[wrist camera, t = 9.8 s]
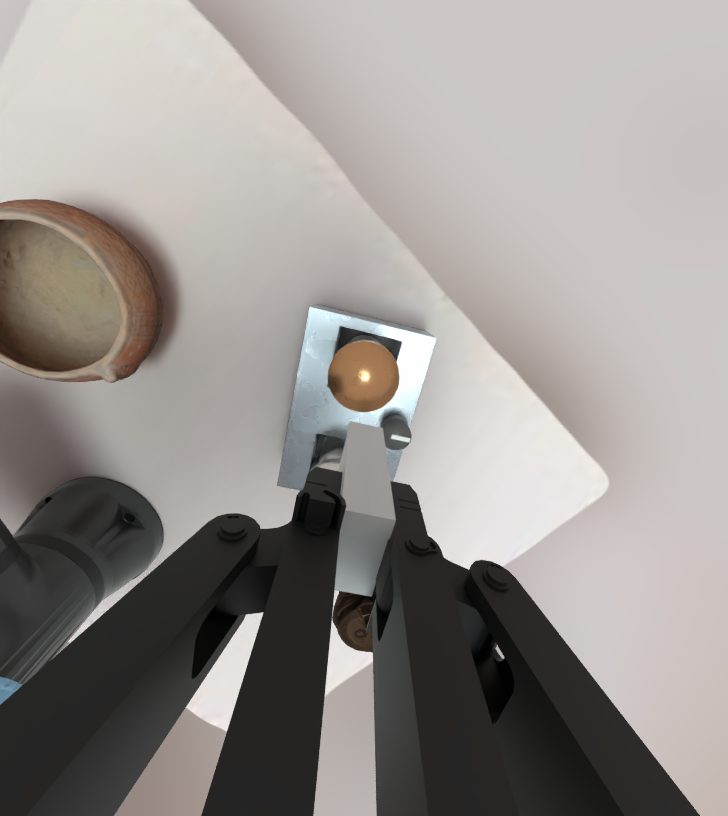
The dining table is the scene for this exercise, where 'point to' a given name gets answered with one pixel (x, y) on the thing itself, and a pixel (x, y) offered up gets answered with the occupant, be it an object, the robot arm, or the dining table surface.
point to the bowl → (72, 295)
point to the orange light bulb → (363, 375)
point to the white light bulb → (331, 453)
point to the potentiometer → (396, 432)
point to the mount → (317, 403)
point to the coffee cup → (354, 619)
